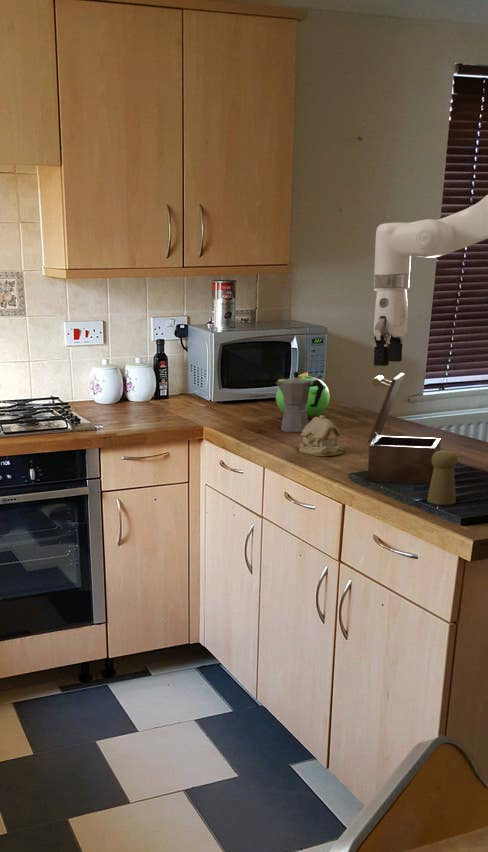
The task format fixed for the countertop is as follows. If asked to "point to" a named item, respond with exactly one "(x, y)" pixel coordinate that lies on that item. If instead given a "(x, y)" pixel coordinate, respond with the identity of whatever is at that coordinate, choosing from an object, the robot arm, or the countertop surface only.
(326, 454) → the ceramic model
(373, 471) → the chest
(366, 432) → the countertop surface
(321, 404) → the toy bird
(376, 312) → the robot arm
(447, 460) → the cork
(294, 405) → the coffeepot
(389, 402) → the lid
